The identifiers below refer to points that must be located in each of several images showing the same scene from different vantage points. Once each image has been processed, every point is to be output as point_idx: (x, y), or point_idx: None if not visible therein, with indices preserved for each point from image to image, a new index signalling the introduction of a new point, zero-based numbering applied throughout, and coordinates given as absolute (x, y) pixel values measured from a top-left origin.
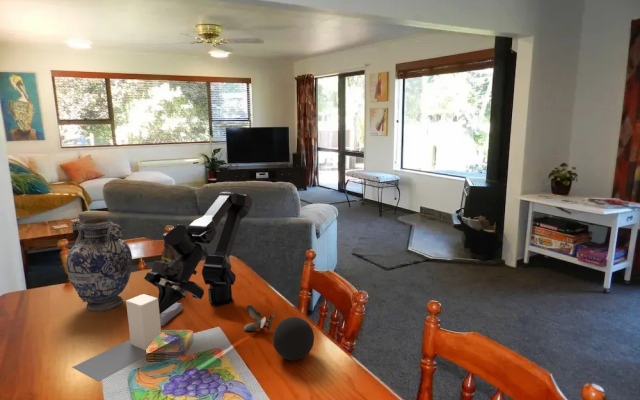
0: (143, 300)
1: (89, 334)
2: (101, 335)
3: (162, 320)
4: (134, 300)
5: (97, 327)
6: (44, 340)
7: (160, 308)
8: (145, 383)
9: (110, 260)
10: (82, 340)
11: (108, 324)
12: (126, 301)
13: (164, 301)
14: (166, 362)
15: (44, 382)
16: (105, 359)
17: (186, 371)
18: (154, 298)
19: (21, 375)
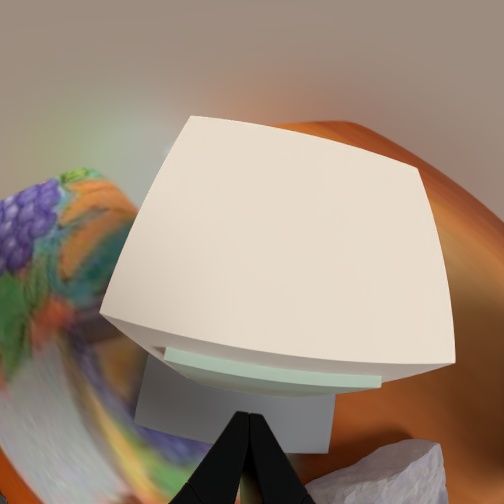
0: (265, 193)
1: (470, 316)
2: None
3: (314, 498)
4: (365, 179)
5: (486, 353)
6: (494, 254)
7: (218, 439)
8: (104, 186)
9: None
10: (455, 286)
11: (481, 382)
12: (409, 170)
13: (186, 485)
14: (94, 274)
15: None
16: None
17: (29, 253)
18: (154, 295)
19: (395, 155)
